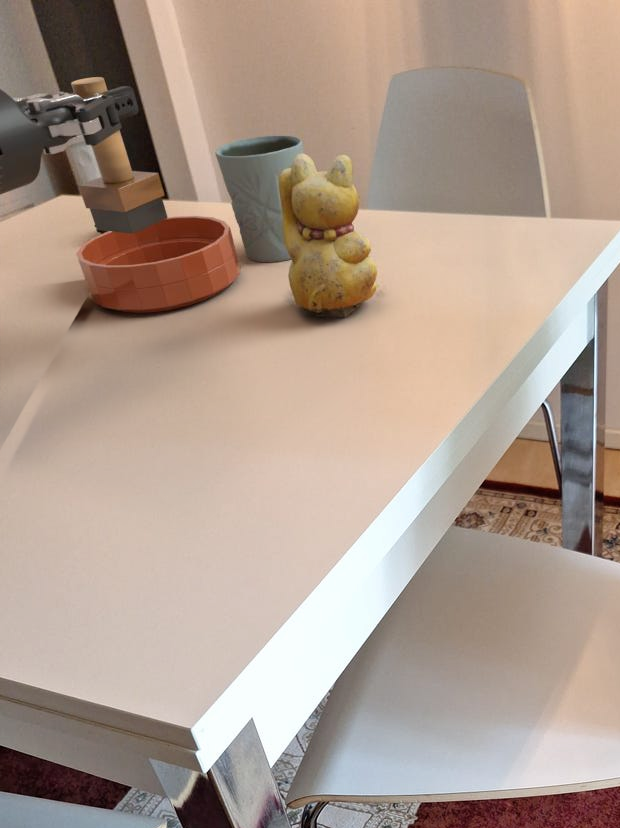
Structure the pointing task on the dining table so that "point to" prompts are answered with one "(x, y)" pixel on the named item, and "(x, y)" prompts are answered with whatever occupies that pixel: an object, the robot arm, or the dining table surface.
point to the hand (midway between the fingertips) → (119, 98)
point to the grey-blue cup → (258, 191)
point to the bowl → (160, 264)
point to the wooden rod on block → (119, 182)
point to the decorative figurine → (325, 238)
